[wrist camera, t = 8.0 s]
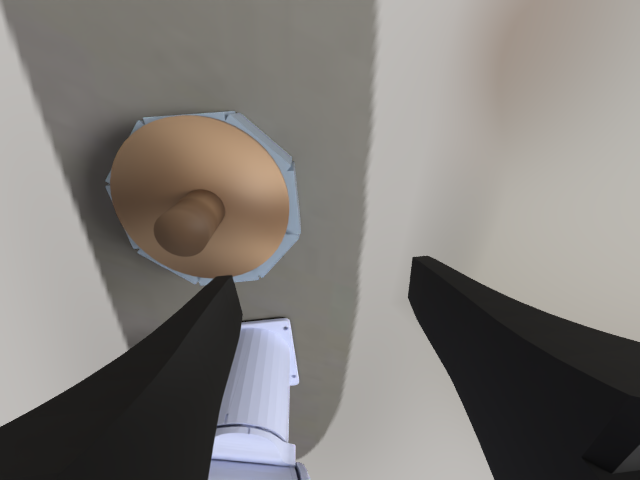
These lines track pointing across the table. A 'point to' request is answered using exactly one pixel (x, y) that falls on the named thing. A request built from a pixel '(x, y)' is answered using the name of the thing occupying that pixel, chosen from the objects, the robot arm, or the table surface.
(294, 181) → the bowl
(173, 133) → the lid
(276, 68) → the table surface
